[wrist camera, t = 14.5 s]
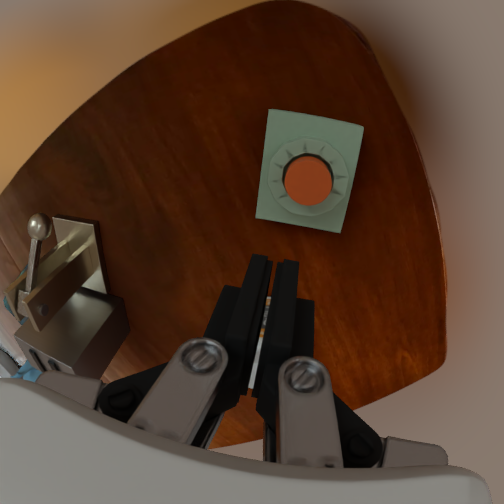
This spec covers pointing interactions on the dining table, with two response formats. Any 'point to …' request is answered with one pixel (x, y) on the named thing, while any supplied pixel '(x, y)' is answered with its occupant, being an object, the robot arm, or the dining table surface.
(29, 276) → the lever
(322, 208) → the timer block
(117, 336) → the toaster
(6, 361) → the serving bowl
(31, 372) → the teapot
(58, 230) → the bracket
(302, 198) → the timer button
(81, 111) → the dining table surface
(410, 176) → the dining table surface
